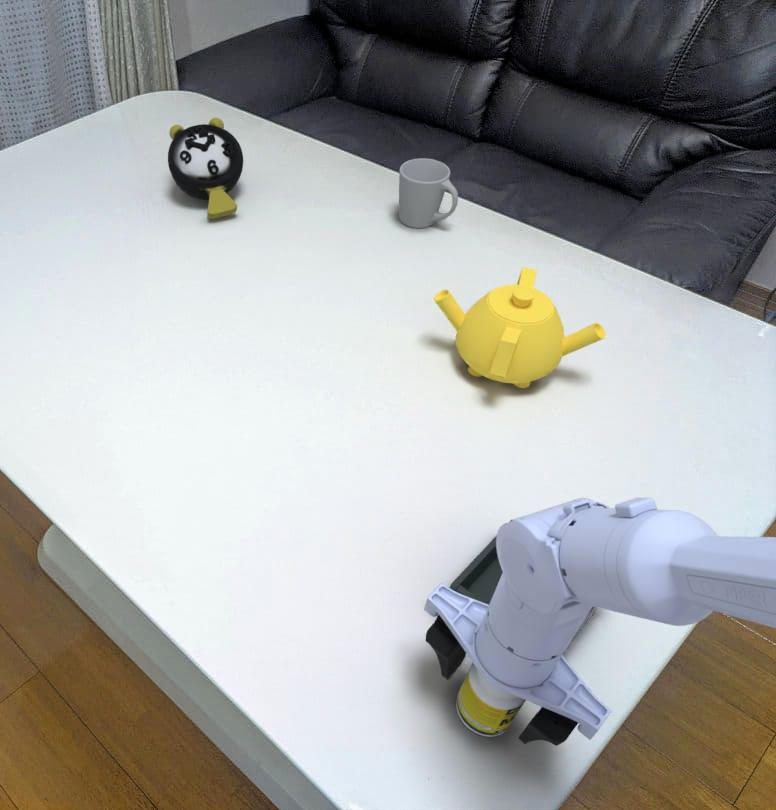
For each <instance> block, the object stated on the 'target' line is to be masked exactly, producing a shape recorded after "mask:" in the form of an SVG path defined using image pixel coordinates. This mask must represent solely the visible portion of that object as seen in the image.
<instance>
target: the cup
mask: <svg viewBox="0 0 776 810" xmlns="http://www.w3.org/2000/svg"><path fill="white" fill-rule="evenodd" d="M450 177H451V169H450V168H449V166H448V165H447V164H445V163H443V162H442V161H440V160H437V159H433V158H424V157H423V158H421V157H419V158H412V159H409V160H407V161H405V162H404V163H402V164H401V165H400V167H399V174H398V178H399V179H398V210H399V211H398V212H399V215H398V216H399V217H398V219H399V220H400V222H401V223H402V224H403V225H405V226H407V227H410V228H414V229H423V228H427V227H430V226H432V225H433V224H435V222H438V221H439V222H440V221H443V220H446V219H447V218H449V217H450V216H451V215H453V213H454V212H455V211H456V209H457V206H458V204H459V203H458V202H459V194H458V190H457V188H456V187H455V186H454V184H453V183H452V182H451V180H450ZM446 191H448V192H449V193H450V195H451V198H452V201H451V202H452V204H451V207H450V209H449V211H447V212H444V213H443V212H440V208H441V206H442V202H443V200H444V197H445V193H446Z"/></svg>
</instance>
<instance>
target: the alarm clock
mask: <svg viewBox="0 0 776 810" xmlns="http://www.w3.org/2000/svg"><path fill="white" fill-rule="evenodd" d="M224 128H225V124H224V121H223V120H222V119H221V118H219V117H212V118H211V119H210V120H209V122H208V124H206V123H205V124H204V123H202V124H195V125H191V126H188V127H186V128H184V127H183V126H182V125H181V124H174V125H172V126H171V127H170V128H169V136H170V139H171V142H170V144H169V147H168V152H167V164H168V170H169V172H170V174H171V177H172V179H173V181H174V182H175V184H176V186H177V187H178V188H179V189H180V190H181V191H182V192H183V193H185V194H186V195H188V196H189V197H192V198H194V199H198V200H204V201H208V206H207V219H210V220H214V219H219V218H223V217H227V216H232V215H234V214H235V213H236V212H237V210H238V204H237V203H236V201H235V200H234V199H232V198H231V196H230V195H229V194H228V193H230V192H231V191H232V190H233V189H234V188H235V187H236V185H237V184H238V182H239V180H240V178H241V176H242V172H243V169H244V155H243V149H242V147H241V145H240V142H239V141H238V140H237V138H236V137H235V136H234V135H233V134H232V133H230V131H228V130H227V129H224Z"/></svg>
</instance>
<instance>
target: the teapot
mask: <svg viewBox="0 0 776 810" xmlns="http://www.w3.org/2000/svg"><path fill="white" fill-rule="evenodd" d="M537 272H538V269H537V268H531V267H523V266H522V268H521V270H520V274H519V277H518V280H517V284H504V285H500V286H498V287H496V288H494V289H492V290H490V291H489V292H487V293H486V294H485V295H483V296H482V297H480V298H479V299H478V300H477V301H476V302H475V303H474V304H473V305H472V306H471V307H470V308H469V309H468V310H467V311H466V313H465V312H464V311H463V309H462V308H461V306H460V305H459V304H458V302H457V301H456V299H455V298H454V296H453V295H452V293H451V292H450V291H449V289H442V290H441V291H438V292H437V293H436V294H435V295H434V297H433V301H434V302H435V304H436V305H437V306H438V308H439V309H440V310H441V312H442V313H443V314H444V316H445V317H446V319H447V321H449V323H450V324H451V325H452V327H453V328H454V329H455V331H456V333H455V344H456V349H457V352H458V354H459V355H460V357H461V358H462V360H464V362H465V363H466V364H467V365H468V368H467V373H469V374H470V375H471V376H473V377H477V378H479V377H480V378H481V377H484V378H486V379H489V380H492V381H495V382H499V383H504V384H513V385H514V386H515V387H517V388H520V389H526V388H529V387H530V386H531V382H533V381H536V380H539V379H542V378H544V377H546V376H548V375H550V374H551V373H552V372H553V371H554V370H555V369H556V368H557V367H558V366H559V365H560V363H561V361H562V358H563V357H565V356H567V355H570V354H571V353H573V352H576V351H578V350H581V349H584V348H585V347H588V346H590V345H592V344H595V343H597V342H599V341H601V340H604V339H606V331H605V329H604V327H603V326H602V324H600V323H599V322H594V323H591V324H590V325H588V326H586V327H584V328H582V329H580V330H578V331H575V332H573V333H571V334H569V335H567V336H565V331H564V325H563V322H562V319H561V317H560V315H559V312H558V310H557V308H556V305H555V304H554V302H553V300H552V299H551V298H550V297H549V295H547V294H546V293H545V292H542V291H541V290H539V289H538V288H535V282H536V277H537Z"/></svg>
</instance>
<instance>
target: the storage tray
mask: <svg viewBox="0 0 776 810" xmlns="http://www.w3.org/2000/svg"><path fill="white" fill-rule="evenodd" d="M512 520H513V519H510V521H508V523H510V522H511V521H512ZM496 537H497V535H495V536H494V537H493V539H492V540H491V541H490V542H489V543H487V545H486V546H485V547H484V548H483V549H482V550H481V551H480V552H479V554H477V556H476V557H475V558H474V559H473V560H472V561H471V562H470V563H469V564H468V565H467V566H466V567H465V568H464V570H463V571H462V572H461V573H460V574H459V575H457V577H456V578H455V579H454V580H453V581H452V582H451V583H450V585H449V588H450V589H452V590H453V591H455V592H457V593H459V594H462V595H464V596H468V597H470V598H472V599H475V600H477V601H480V602H482V603H485V604H488V605H489V604H490V601H491V599H492V597H493V594H494V592H495V590H496V587H497V585H498V582H499V580H500V578H501V575H502V573H503V571H502V569H501V566H500V563H499V559H498V555H497V549H496ZM597 609H598V607H592V608H591V610H590V611H589V613H588V615H587V616H586V618H585V620H584V621H583V623H582V624H581V626H580V628H579V629H578V631H577V632H576V634H575V635H574V637H573V639H572V640H571V642H572V641H573V640H574V639H575V638H576V636H577V635H578V634H579V632H580V631H581V630H582V628H584V626H585V624H587V622H588V620H589V619H590V618H591V617H592V616H593V614H594V613H595V611H596V610H597ZM571 642H570V643H569V645H570V644H571Z"/></svg>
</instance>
